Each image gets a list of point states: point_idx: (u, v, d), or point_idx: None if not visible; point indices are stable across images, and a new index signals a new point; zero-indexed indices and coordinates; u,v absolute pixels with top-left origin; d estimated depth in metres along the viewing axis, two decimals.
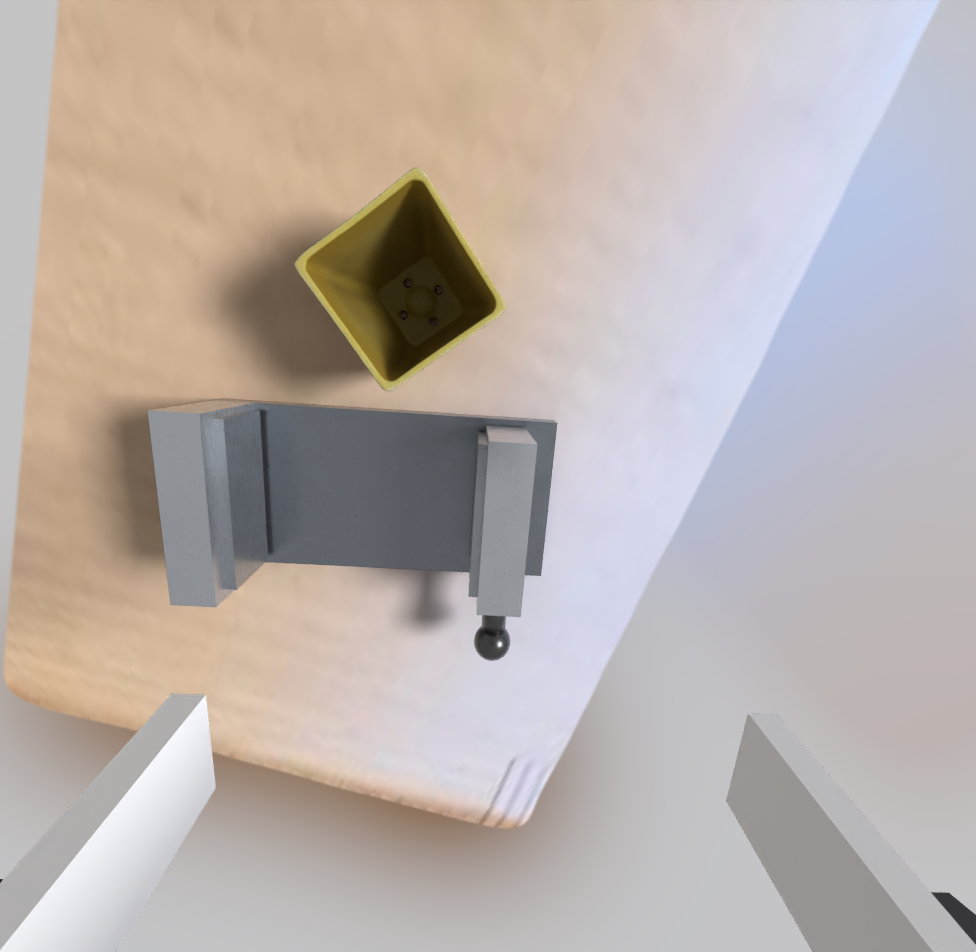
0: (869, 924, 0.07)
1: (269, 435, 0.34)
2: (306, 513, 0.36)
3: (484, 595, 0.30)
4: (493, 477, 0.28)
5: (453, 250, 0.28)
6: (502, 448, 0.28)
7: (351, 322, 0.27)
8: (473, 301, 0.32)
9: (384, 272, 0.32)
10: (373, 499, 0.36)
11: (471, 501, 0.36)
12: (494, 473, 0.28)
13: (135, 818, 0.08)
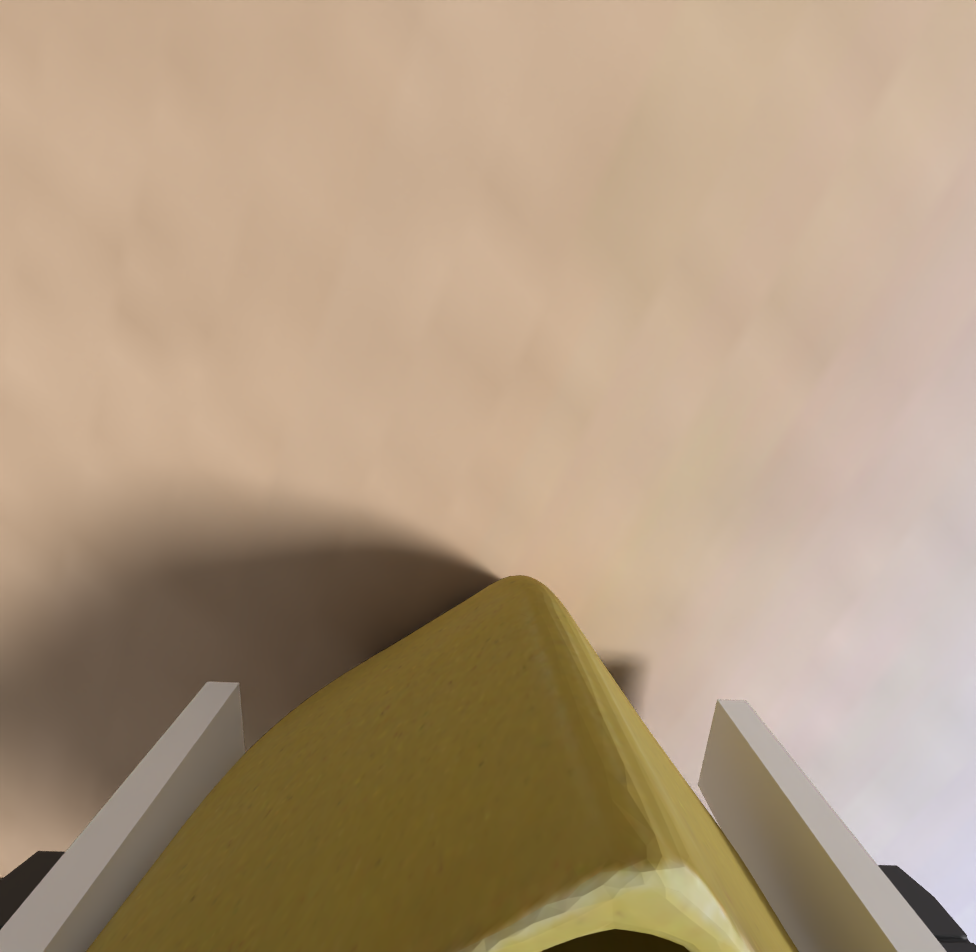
0: (819, 894, 0.08)
1: None
2: None
3: None
4: None
5: None
6: None
7: None
8: None
9: None
10: None
11: None
12: None
13: (180, 797, 0.09)
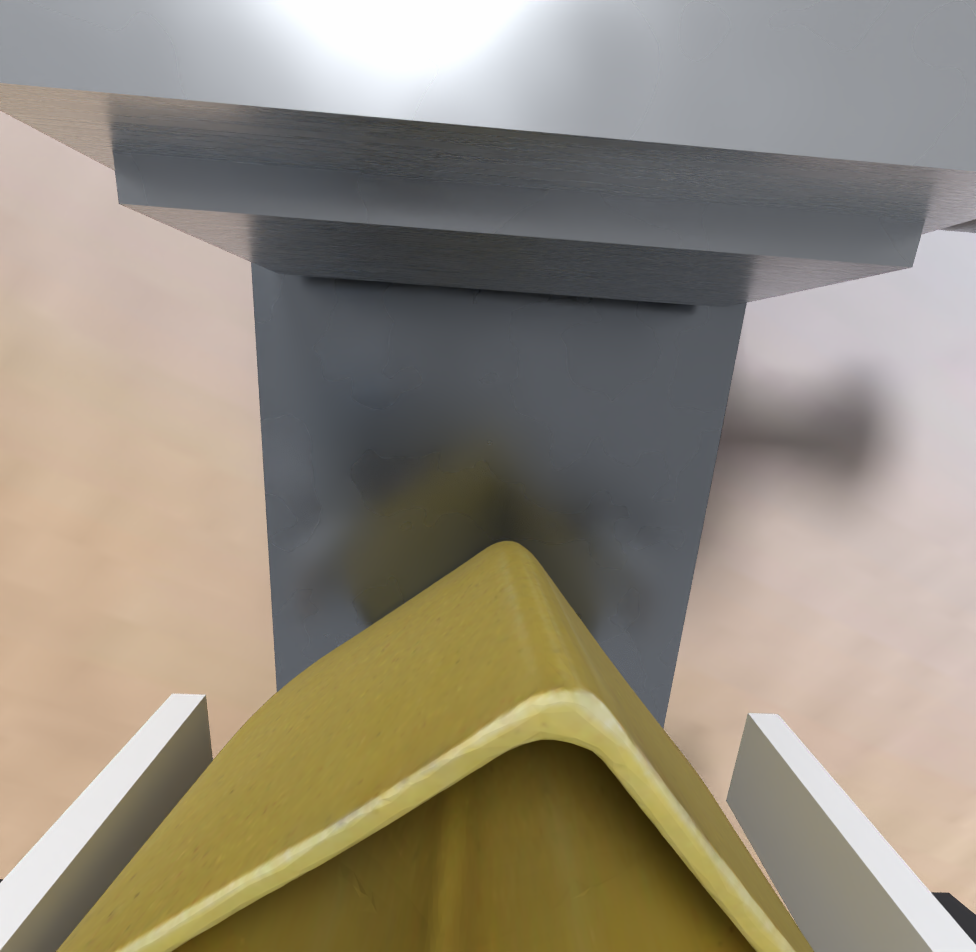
0: (869, 924, 0.07)
1: None
2: None
3: None
4: (176, 45, 0.04)
5: None
6: None
7: None
8: None
9: None
10: None
11: (514, 302, 0.12)
12: (148, 37, 0.04)
13: (135, 818, 0.08)
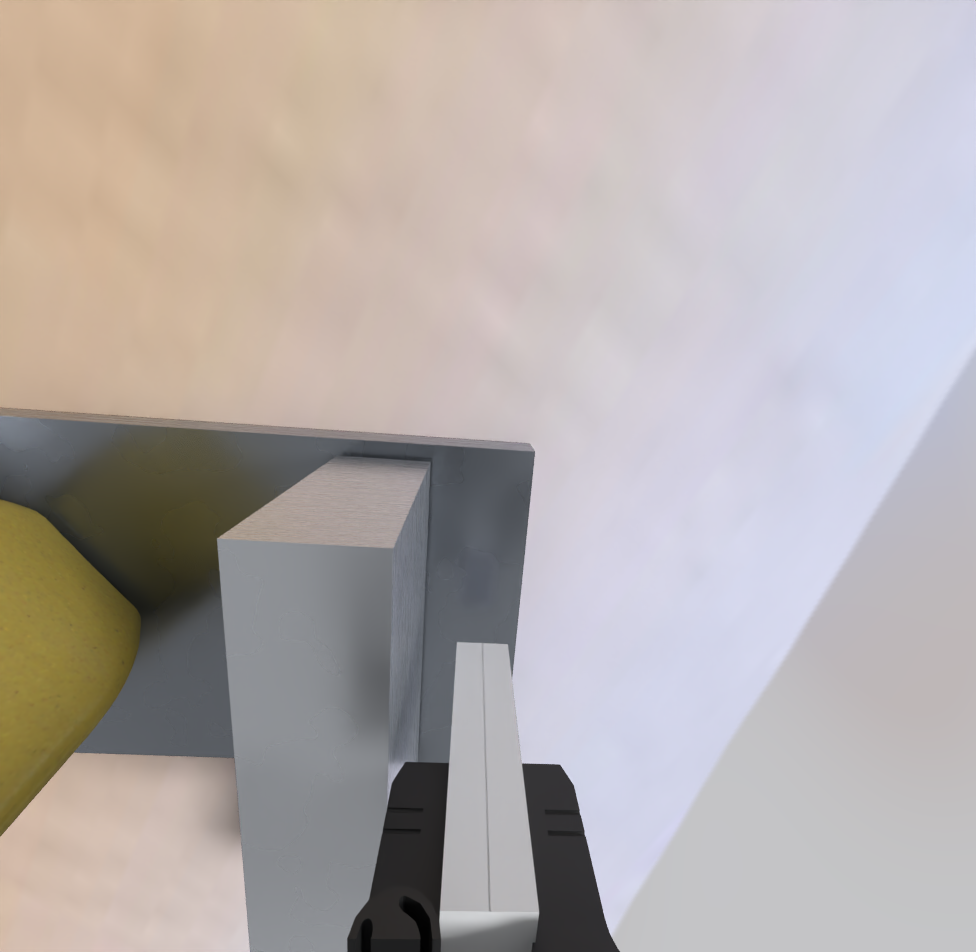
0: None
1: None
2: None
3: None
4: (250, 655, 0.08)
5: None
6: (269, 563, 0.08)
7: None
8: None
9: None
10: None
11: None
12: (252, 643, 0.08)
13: None
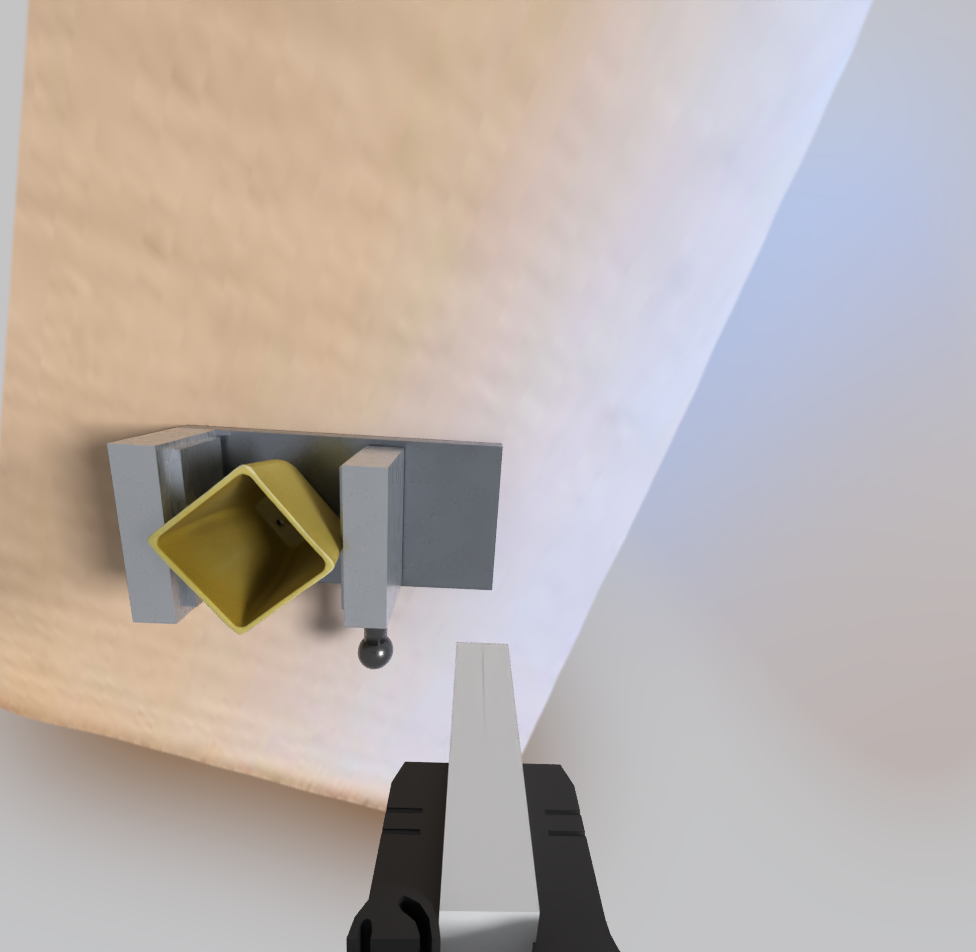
0: None
1: (230, 460, 0.36)
2: None
3: (350, 609, 0.32)
4: (349, 498, 0.30)
5: (309, 565, 0.33)
6: (355, 471, 0.30)
7: (218, 497, 0.30)
8: (290, 565, 0.36)
9: None
10: None
11: (423, 520, 0.38)
12: (349, 495, 0.30)
13: None
